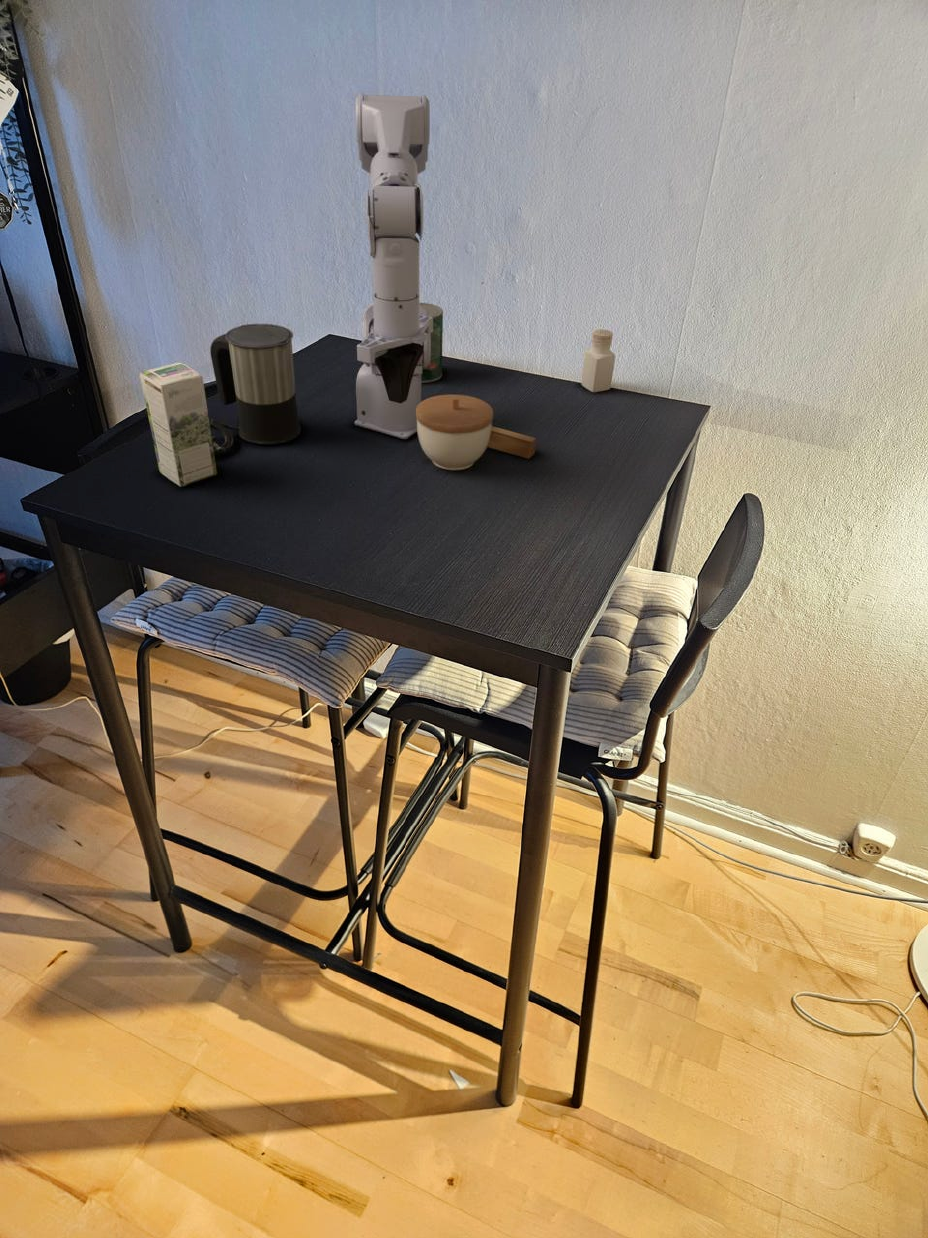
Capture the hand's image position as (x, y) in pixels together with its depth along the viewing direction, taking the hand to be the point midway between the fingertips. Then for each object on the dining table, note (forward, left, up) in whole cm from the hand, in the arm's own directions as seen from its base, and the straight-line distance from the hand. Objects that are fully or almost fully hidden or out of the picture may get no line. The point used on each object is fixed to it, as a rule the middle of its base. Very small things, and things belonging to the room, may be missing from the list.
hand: (397, 400), depth 111 cm
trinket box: (+5, +7, -11) cm, 14 cm away
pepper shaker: (+12, +43, -11) cm, 46 cm away
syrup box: (-23, -17, -11) cm, 31 cm away
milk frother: (-24, -4, -11) cm, 27 cm away
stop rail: (+6, +14, -10) cm, 19 cm away
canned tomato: (-16, +31, -11) cm, 37 cm away
